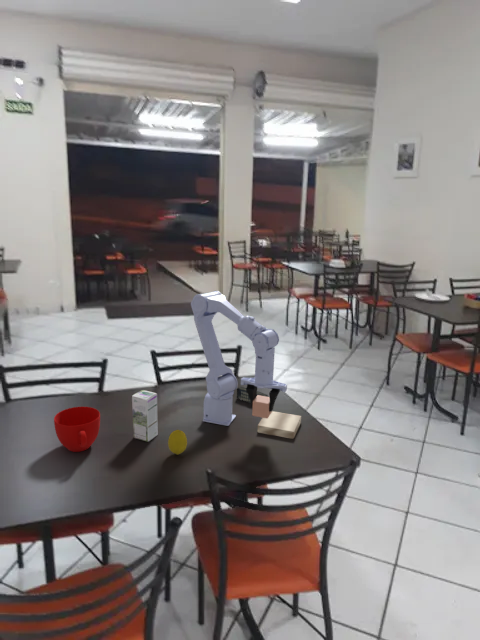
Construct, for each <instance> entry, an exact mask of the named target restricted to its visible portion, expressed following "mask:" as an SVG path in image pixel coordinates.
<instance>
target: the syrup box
mask: <svg viewBox="0 0 480 640" xmlns="http://www.w3.org/2000/svg"><path fill="white" fill-rule="evenodd" d="M131 396H132V397H131V402H132V403H131V404H132V407H131V408H132V431H133V433H132V435H133V438H134V439H137V440H140V441H142V442H143V441H144V442H148V443H149V442H150V441H151V440H153V439H155V437H157V436H158V434H159V431H158V430H159V428H158V427H159V425H158V393H156V392H152V391H148V390H146V389H145V390H144V389H142V390H140V391H138V392H136V393H134V394H133V395H131Z"/></svg>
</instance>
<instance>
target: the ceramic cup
mask: <svg viewBox="0 0 480 640" xmlns="http://www.w3.org/2000/svg"><path fill="white" fill-rule="evenodd" d="M53 424H54V430H55V435H56V437H57V439H58V441H59V442H60V443H61V445H62V446H63V447H65V448H66V449H67V450H68V451H69V452H72V453H79V452H83V451H86V450H88V449H89V448H91V446H92V445H93V444H94V443H95V441H96V440H97V438H98V435H99V431H100V427H101V412H100V411H99V410H98V409H97V408H94V407H91V406H74V407H69V408H66V409H63V410H61V411H59V412H57V413H56V414H55V415H54V418H53Z"/></svg>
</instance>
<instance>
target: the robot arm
mask: <svg viewBox="0 0 480 640" xmlns="http://www.w3.org/2000/svg"><path fill="white" fill-rule="evenodd" d="M190 307H191V311H192V313H193V320H194V321H193V322H194V324H195V328H196V330H197V334H198V337H199V339H200V340H199V341H200V343H201V348H202V350H203V354H204V357H205V359H206V363H207V365H208V366H207V367H208V369H209V370H208V373H207V375H206V376H205V380H206V391H207V393H205V396H204V399H203V419H202V422H206V423H211V424H216V425H220V426H226V427H229V426H230V425H231V424H232V422H233V421H234V420H235V418H236V416H237V415H236V414H233V402H234V401H233V399H234V397H233V396H234V393H235V390H236V391H237V388H238V385H239V384H238V379H237V376H235V374H234V372H233V369H232V368H231V367H229V366H227V365H226V363H225V361H224V357H223V353H222V350H221V347H220V345H219V342H218V337H217V334H216V331H215V329H214V325H213V319H214V317H215V315H216V314H217V313H220V314H221V315H223V316H224V317H226V318H227V319H228V320H230V321H232V322H233V323H234V324H236V325H237V330H238V331H239V332H240V333H241V334H242V335H243V336H245V337H246V338H247V339H248V340H250V341H251V342H252V343H251V344H252V347H253V348H254V353H255V363H254V364H255V365H254V366H255V367H254V377H241V378H240V386H246V387H245V388H246V392H247V393H248V395H249V397H250V400H251V403H250V405H251V409H253V400H254V399H255V398H256V395H257V391H258V389H261V390H262V389H268V390H270V391H269V395H268V397H270V405H269V411H270V412H272V411H273V410H274V406H275V402H276V400H277V398H278V396H279V393H280V392H282V393H287V391H288V384H287V383H283V382H279V381H277V380H274V369H275V368H274V366H275V353H276V351H275V350H276V347H277V346H278V344H279V342H280V337H279V335H278V333H277V331H276V330H275V329H273V328H267V327H266V326H265V325H262V324H261V323H260V322H258V320H256V318H255V317H254V316H252V315H251V316H250V315H244V314H242V313H241V312H240V311H239V310H238V309H237V308H236V307H235V306H234V305H233V304H232V303H230V302H229V301H228V300H227V297H226V295H224V294H222V292H220V291H219V290H214V291H210V292H205V293H196V294H195V295H194V296H193V297H192V299H191V302H190Z"/></svg>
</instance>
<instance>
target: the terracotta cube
mask: <svg viewBox="0 0 480 640" xmlns="http://www.w3.org/2000/svg"><path fill="white" fill-rule="evenodd" d="M269 405H270V396H268V397H266V396H261V395H257V396H256V398H255V399H254V400H253V408H251V410H252V412H251V413H252V414H251V416H253V417H257V418H261V419H262V418H267V419H268V417H269V416H270V414H271V413H272V412H270V411H269Z"/></svg>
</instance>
